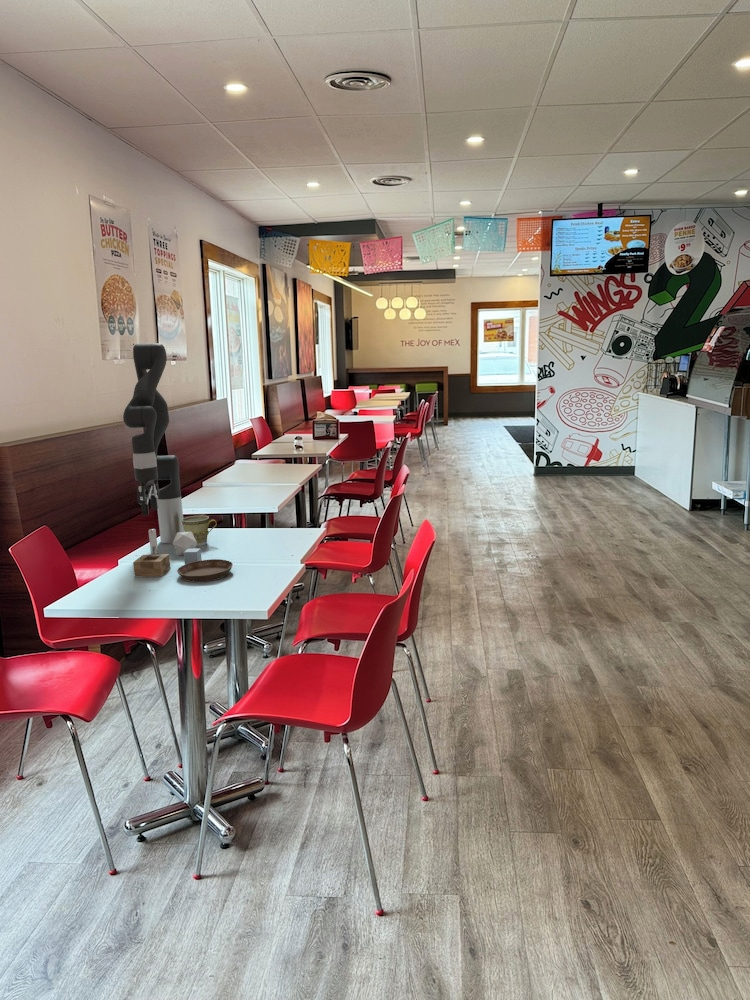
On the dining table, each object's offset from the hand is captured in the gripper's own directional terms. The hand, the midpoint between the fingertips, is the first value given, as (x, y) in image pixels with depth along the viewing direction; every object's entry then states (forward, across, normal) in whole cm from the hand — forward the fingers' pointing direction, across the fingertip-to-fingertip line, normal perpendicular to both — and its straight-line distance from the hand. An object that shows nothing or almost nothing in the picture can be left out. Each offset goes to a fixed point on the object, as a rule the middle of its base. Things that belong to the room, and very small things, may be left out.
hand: (150, 512), depth 256 cm
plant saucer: (+19, +15, +22) cm, 32 cm away
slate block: (+18, +2, +14) cm, 23 cm away
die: (+18, -12, +7) cm, 23 cm away
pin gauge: (+18, 0, 0) cm, 18 cm away
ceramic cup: (+18, -25, +9) cm, 32 cm away
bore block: (+18, +11, +3) cm, 21 cm away
